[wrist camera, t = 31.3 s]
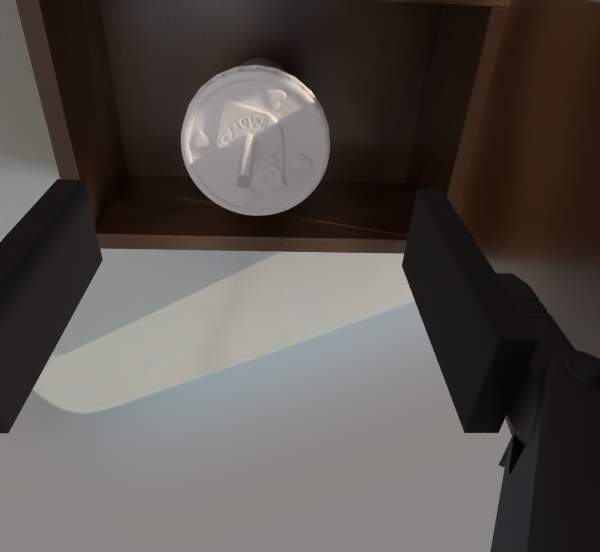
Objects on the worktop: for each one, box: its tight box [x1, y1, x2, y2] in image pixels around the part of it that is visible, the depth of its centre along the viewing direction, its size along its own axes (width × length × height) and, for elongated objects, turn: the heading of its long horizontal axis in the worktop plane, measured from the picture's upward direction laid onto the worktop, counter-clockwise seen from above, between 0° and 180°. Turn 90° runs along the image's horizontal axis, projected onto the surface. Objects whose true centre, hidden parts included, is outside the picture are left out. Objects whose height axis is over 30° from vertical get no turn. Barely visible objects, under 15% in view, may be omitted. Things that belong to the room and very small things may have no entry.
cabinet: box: [16, 0, 511, 253], centre depth 26 cm, size 20×13×8 cm, turn 87°
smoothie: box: [181, 57, 330, 216], centre depth 23 cm, size 6×6×14 cm
